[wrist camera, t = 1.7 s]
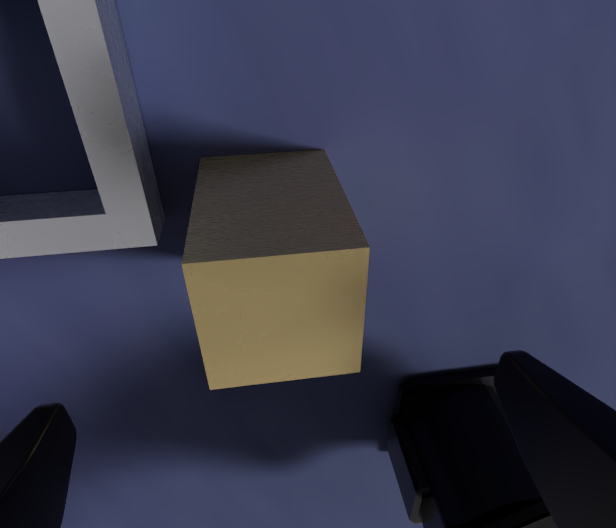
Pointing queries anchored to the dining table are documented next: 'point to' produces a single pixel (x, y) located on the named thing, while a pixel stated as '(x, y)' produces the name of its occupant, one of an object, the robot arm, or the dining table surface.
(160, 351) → the dining table surface
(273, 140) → the dining table surface
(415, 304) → the dining table surface
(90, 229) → the rail
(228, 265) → the golden block
